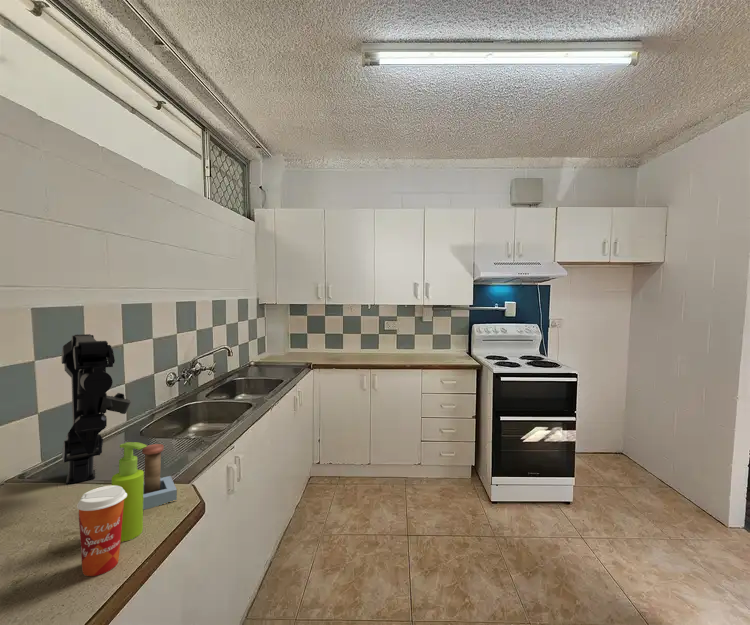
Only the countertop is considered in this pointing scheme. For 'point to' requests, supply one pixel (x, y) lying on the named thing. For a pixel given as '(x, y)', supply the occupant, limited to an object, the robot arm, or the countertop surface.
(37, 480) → the countertop surface
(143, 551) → the countertop surface
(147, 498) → the hole block
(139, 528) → the soap dispenser
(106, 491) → the paper cup
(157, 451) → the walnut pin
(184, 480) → the countertop surface
